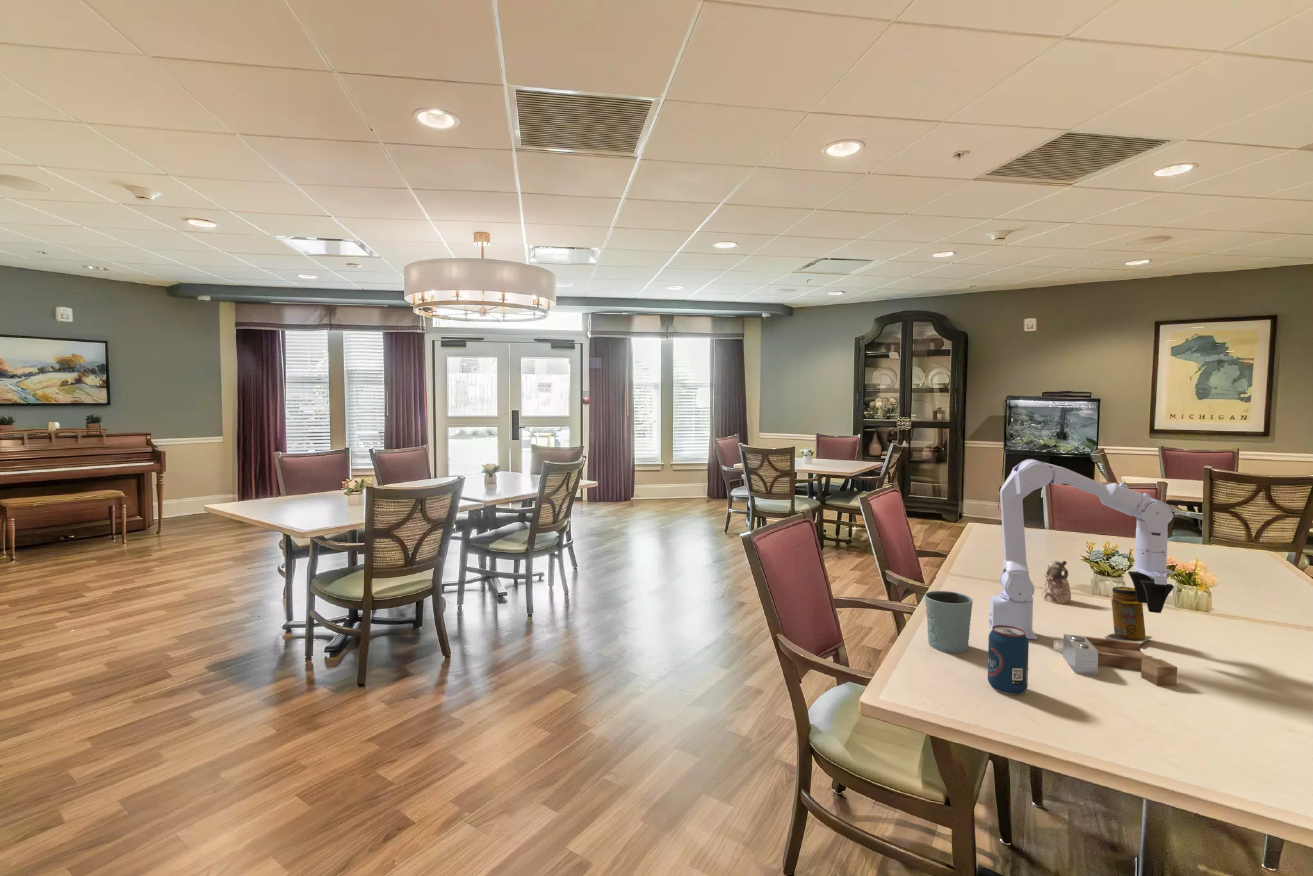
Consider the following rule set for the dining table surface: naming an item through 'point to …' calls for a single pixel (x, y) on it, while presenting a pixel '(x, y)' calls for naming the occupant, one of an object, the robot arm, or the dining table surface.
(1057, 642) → the plastic cap
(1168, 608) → the dining table surface
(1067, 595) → the figurine
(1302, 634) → the dining table surface
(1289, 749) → the dining table surface
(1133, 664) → the stand
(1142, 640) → the condiment
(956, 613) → the green embossed planter
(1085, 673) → the block
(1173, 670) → the walnut block
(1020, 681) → the soda can
